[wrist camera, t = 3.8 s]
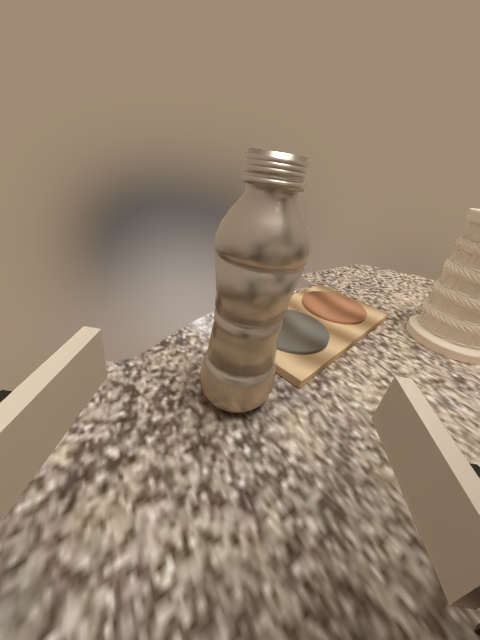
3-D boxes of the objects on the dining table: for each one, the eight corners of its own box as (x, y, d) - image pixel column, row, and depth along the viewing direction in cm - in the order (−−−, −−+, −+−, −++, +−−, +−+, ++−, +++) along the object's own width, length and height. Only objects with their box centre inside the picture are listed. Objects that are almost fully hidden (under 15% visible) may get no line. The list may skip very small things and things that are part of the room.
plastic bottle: (198, 371, 29) (218, 144, 19) (262, 373, 30) (313, 160, 20) (197, 423, 23) (223, 141, 13) (275, 423, 24) (355, 163, 14)
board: (318, 289, 53) (320, 281, 52) (386, 319, 46) (390, 310, 45) (215, 330, 36) (217, 319, 35) (299, 388, 29) (303, 377, 28)
